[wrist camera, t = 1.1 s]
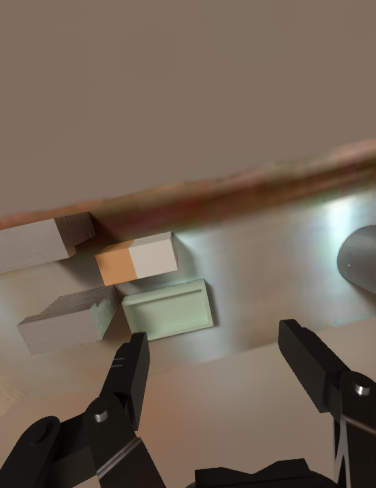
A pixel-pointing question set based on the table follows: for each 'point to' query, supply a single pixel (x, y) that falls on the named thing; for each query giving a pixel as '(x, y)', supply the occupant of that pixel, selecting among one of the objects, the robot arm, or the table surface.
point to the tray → (169, 310)
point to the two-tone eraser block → (137, 259)
